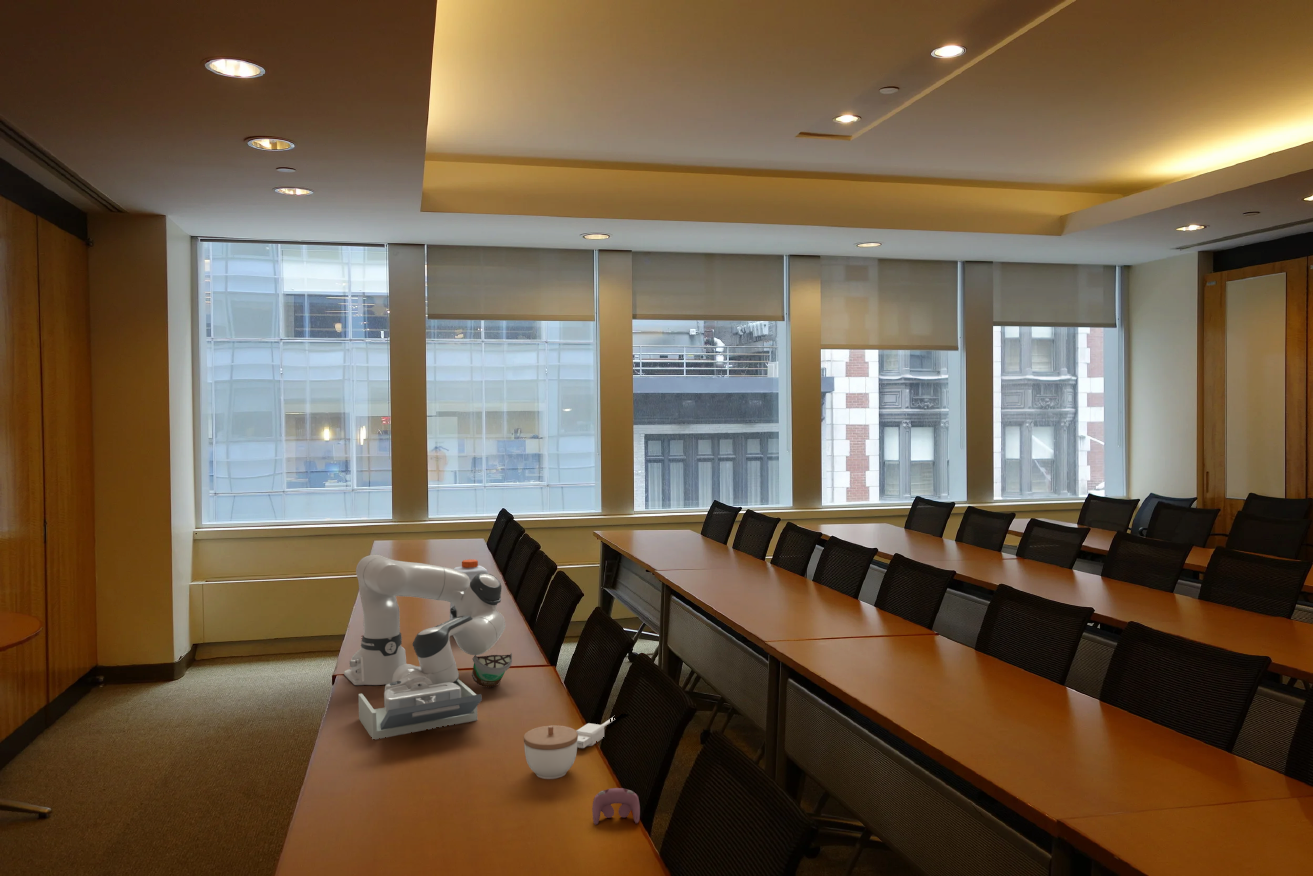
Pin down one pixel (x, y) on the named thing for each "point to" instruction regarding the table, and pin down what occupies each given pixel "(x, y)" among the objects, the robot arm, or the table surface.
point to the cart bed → (375, 716)
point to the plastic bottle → (469, 572)
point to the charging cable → (591, 734)
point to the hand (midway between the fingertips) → (429, 705)
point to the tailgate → (430, 711)
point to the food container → (490, 669)
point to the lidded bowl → (550, 750)
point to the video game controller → (616, 796)
